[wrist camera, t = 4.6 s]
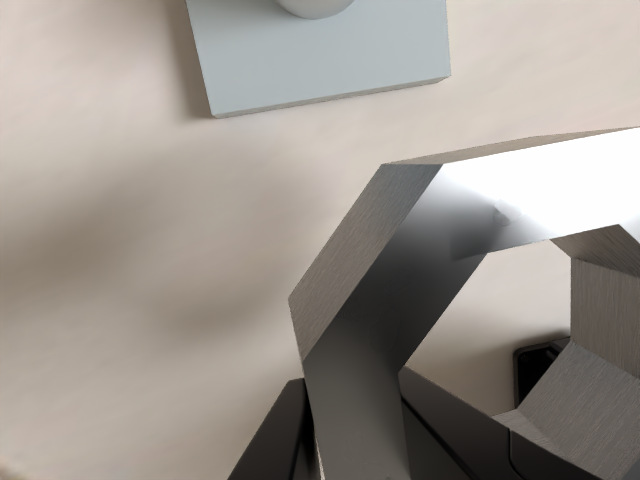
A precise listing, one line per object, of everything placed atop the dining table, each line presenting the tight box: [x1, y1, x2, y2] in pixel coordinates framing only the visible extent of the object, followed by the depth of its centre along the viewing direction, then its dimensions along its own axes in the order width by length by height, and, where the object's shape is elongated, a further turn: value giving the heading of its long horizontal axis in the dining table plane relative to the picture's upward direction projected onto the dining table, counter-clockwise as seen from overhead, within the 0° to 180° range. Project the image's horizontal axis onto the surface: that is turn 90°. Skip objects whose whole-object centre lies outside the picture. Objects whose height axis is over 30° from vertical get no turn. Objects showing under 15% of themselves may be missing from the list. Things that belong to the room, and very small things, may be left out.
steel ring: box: [288, 126, 640, 480], centre depth 9 cm, size 10×10×3 cm
